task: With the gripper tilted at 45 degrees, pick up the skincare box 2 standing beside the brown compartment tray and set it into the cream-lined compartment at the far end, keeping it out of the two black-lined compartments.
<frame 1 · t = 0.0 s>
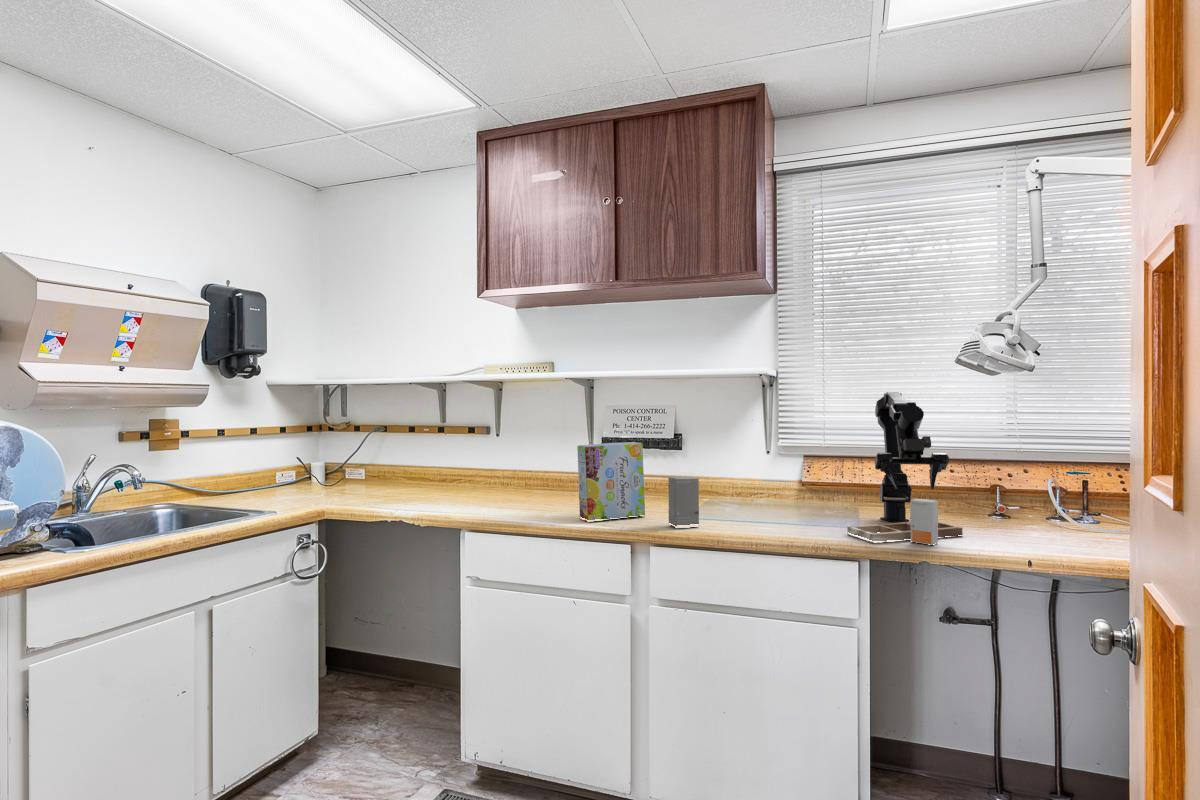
hand: (914, 488, 185), 15 cm above the counter, tool tilted 35°, fingers open, 9 cm apart
brown compartment tray: (904, 535, 193), on the counter
snack box: (612, 519, 227), on the counter
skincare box: (684, 527, 212), on the counter
skincare box 2: (924, 544, 183), on the counter
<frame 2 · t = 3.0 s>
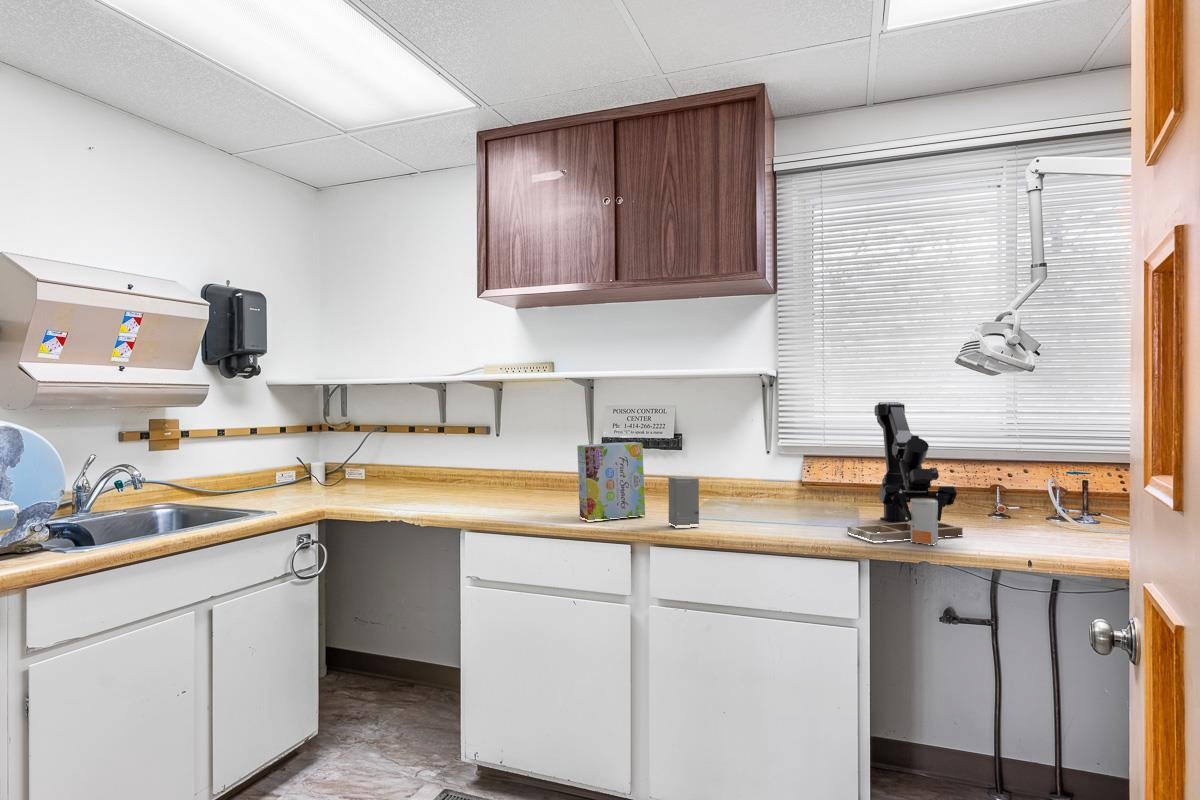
hand: (925, 520, 182), 7 cm above the counter, tool tilted 45°, fingers closed on skincare box 2, 7 cm apart
skincare box 2: (924, 544, 183), on the counter, touching gripper
everything else where it was.
when the fingers open (8 cm above the counter, at t = 7.6 s): skincare box 2 stays where it is, resting on brown compartment tray.
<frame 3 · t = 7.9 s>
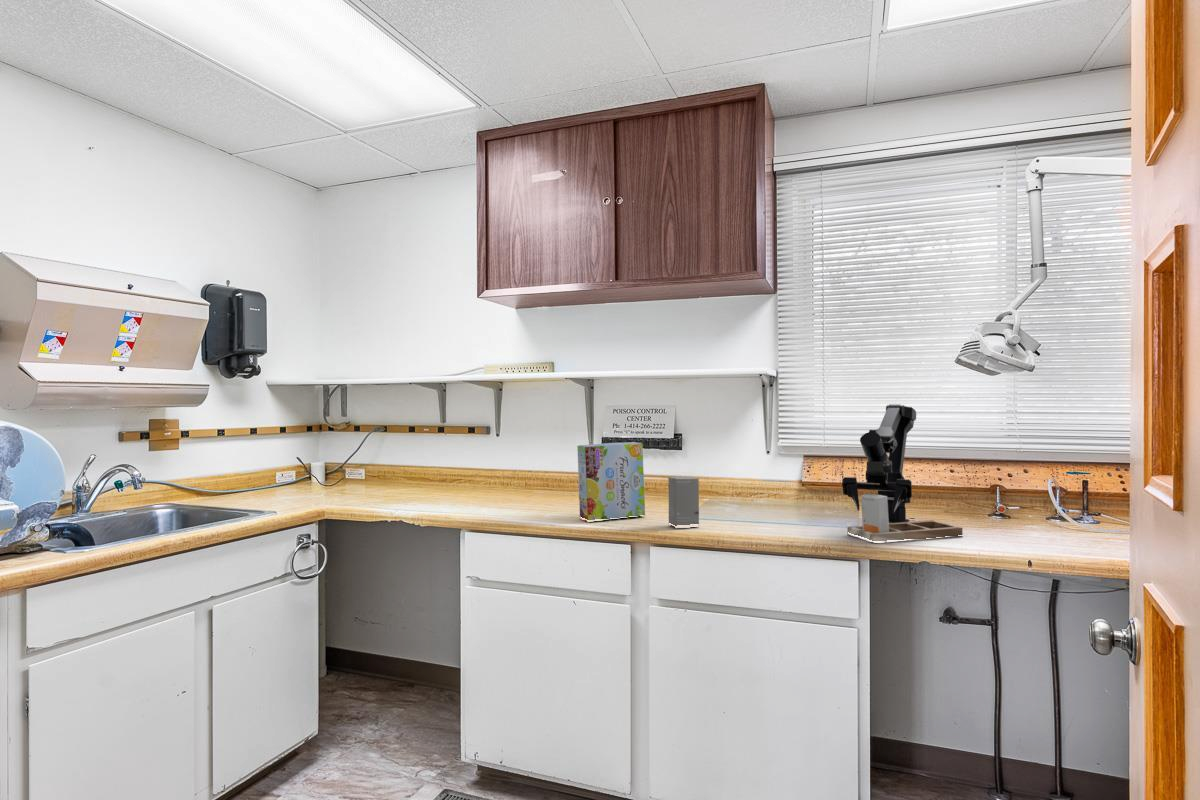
hand: (875, 510, 190), 8 cm above the counter, tool tilted 45°, fingers open, 9 cm apart
skincare box 2: (876, 537, 191), resting on brown compartment tray
everything else where it was.
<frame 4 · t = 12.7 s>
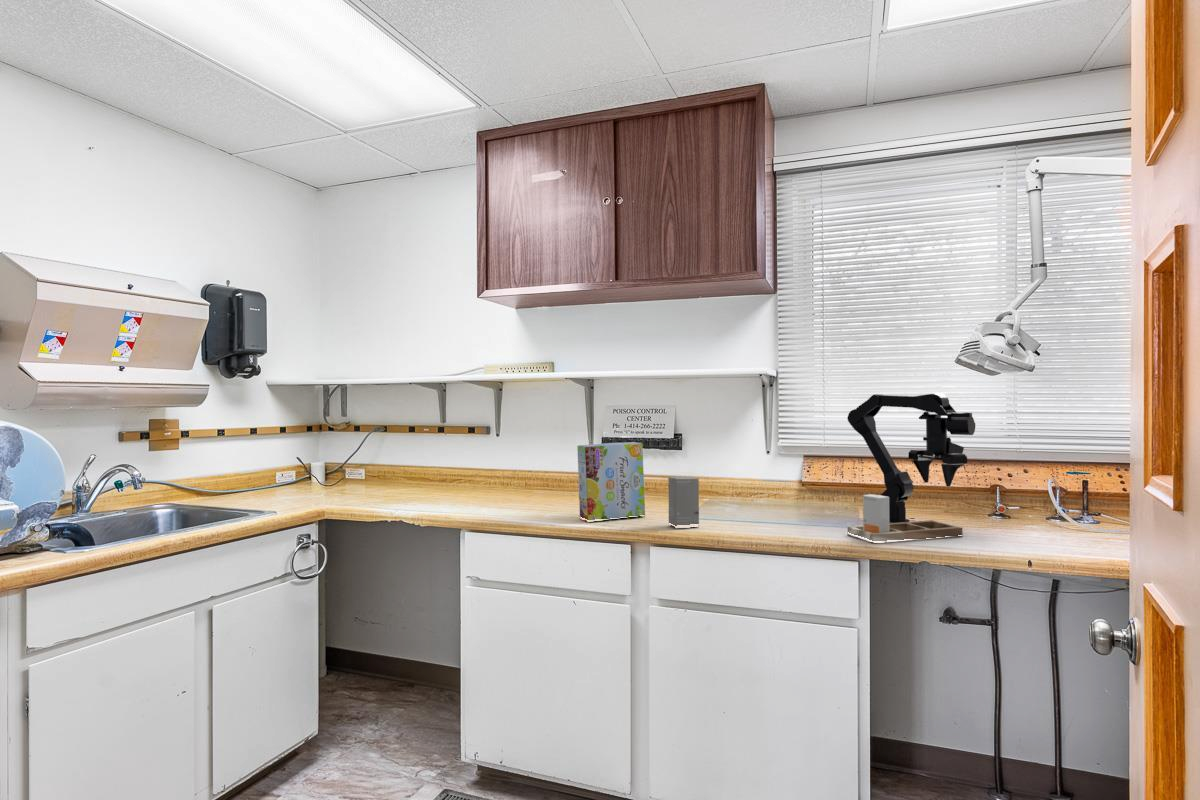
hand: (937, 484, 206), 13 cm above the counter, tool pointing down, fingers open, 9 cm apart
nothing on the counter moved.
at the end: skincare box 2 inside the target area (0.1 cm from its centre), resting on brown compartment tray; skincare box 2 tilted 0°; the gripper is holding nothing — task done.
